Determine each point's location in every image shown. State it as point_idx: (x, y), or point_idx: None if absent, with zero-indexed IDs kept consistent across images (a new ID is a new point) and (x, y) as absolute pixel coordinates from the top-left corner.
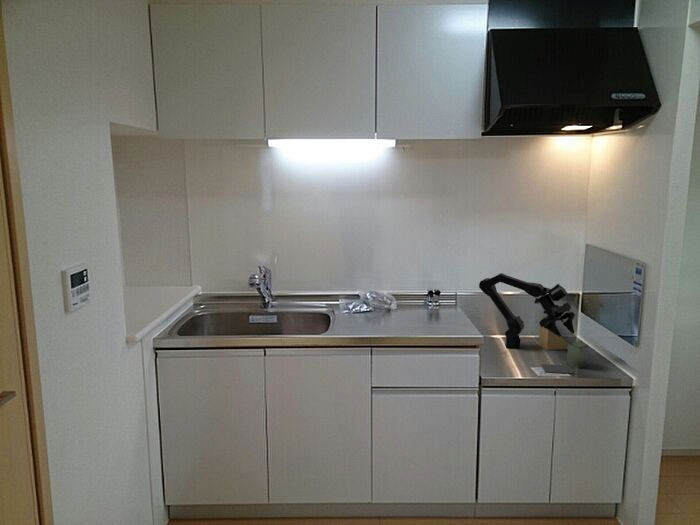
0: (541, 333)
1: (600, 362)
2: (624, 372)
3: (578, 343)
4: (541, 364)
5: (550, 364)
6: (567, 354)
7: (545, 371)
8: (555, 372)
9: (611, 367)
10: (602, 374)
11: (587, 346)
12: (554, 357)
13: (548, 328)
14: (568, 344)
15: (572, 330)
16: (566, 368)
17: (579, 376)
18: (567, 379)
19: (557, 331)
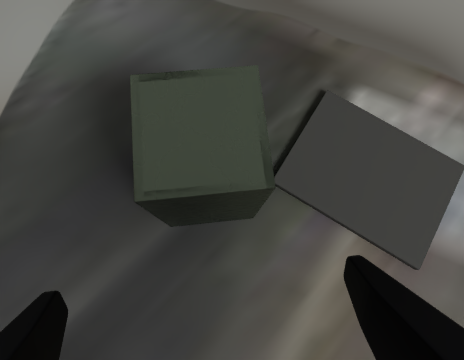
0: None
1: (39, 159)
2: (61, 16)
3: (174, 147)
4: (422, 261)
5: (368, 238)
6: (260, 206)
7: (462, 165)
8: (411, 138)
9: (56, 83)
10: (187, 39)
11: (142, 80)
12: (238, 350)
13: None
14: (274, 183)
15: (43, 326)
16: (319, 151)
17: (317, 63)
18: (400, 60)
19: (423, 302)
